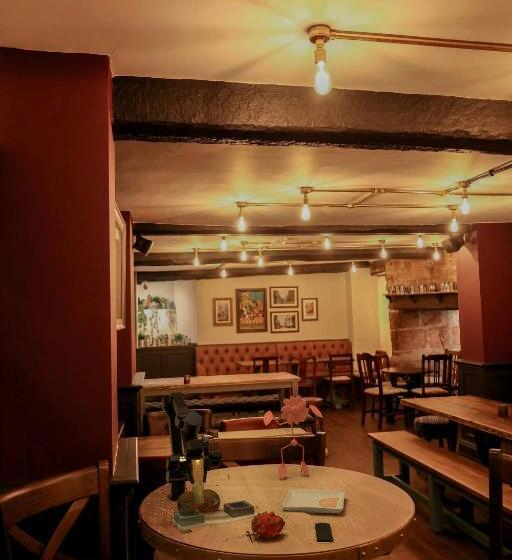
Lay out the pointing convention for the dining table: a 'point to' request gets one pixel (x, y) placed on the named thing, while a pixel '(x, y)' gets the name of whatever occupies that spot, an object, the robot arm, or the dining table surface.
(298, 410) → the pink flower figurine
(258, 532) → the dragon fruit
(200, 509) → the brown flat oval piece
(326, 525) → the remote control
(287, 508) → the salad plate
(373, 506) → the dining table surface
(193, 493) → the brass peg
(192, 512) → the dock board
